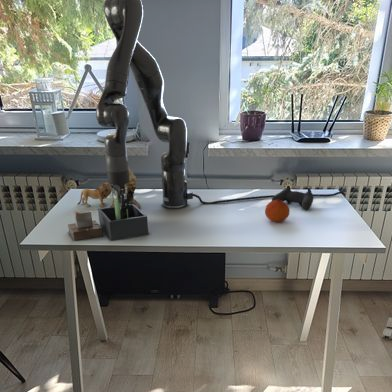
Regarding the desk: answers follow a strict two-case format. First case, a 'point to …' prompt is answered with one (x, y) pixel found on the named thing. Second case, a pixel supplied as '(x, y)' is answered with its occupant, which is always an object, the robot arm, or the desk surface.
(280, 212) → the fruit
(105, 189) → the lion figurine
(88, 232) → the panel
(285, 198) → the gaming controller
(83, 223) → the tap knob
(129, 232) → the gray open box
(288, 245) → the desk surface
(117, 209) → the green tube
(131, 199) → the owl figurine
